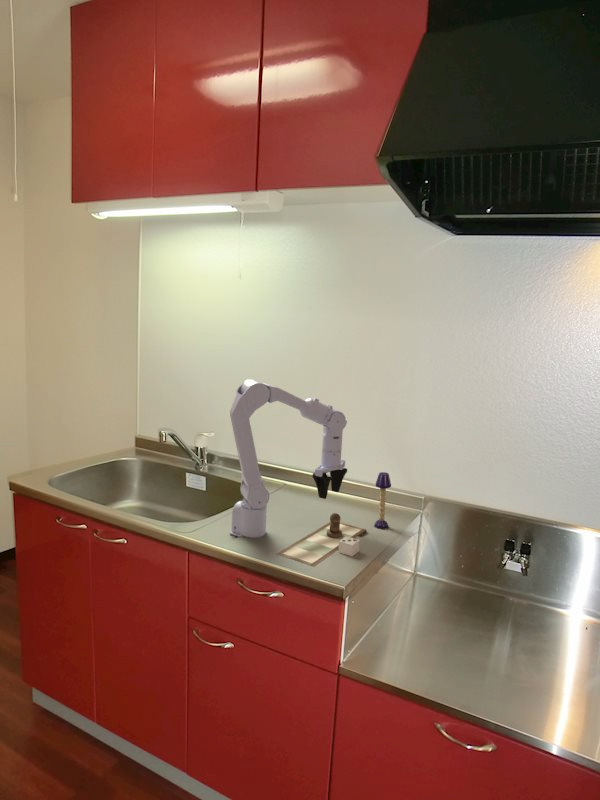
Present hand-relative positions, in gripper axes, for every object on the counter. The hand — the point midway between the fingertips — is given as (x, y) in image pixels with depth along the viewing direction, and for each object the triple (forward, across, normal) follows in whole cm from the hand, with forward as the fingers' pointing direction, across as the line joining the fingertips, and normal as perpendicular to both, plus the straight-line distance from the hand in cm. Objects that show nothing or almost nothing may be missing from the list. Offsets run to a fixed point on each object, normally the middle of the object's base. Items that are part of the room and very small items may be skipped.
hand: (329, 494), depth 154 cm
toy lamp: (+11, +12, -12) cm, 20 cm away
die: (+10, -12, -14) cm, 21 cm away
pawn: (+10, -5, -5) cm, 12 cm away
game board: (+10, -10, -5) cm, 15 cm away
